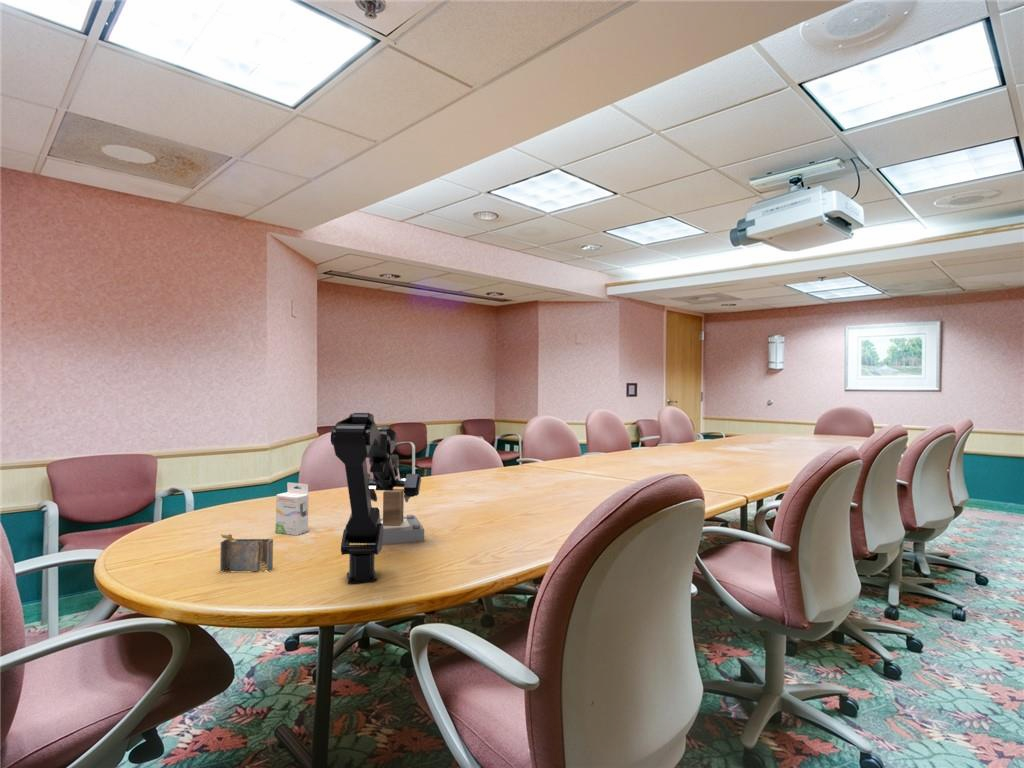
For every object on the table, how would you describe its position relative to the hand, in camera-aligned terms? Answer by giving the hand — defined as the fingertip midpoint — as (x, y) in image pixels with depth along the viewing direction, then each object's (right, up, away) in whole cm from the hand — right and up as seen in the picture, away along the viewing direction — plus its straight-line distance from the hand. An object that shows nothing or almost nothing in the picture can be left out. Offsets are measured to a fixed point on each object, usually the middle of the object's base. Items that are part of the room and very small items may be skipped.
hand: (391, 500), depth 156 cm
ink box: (-32, -11, +5) cm, 34 cm away
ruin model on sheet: (-29, -11, -28) cm, 42 cm away
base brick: (0, -11, +2) cm, 11 cm away
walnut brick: (0, -7, +2) cm, 8 cm away
